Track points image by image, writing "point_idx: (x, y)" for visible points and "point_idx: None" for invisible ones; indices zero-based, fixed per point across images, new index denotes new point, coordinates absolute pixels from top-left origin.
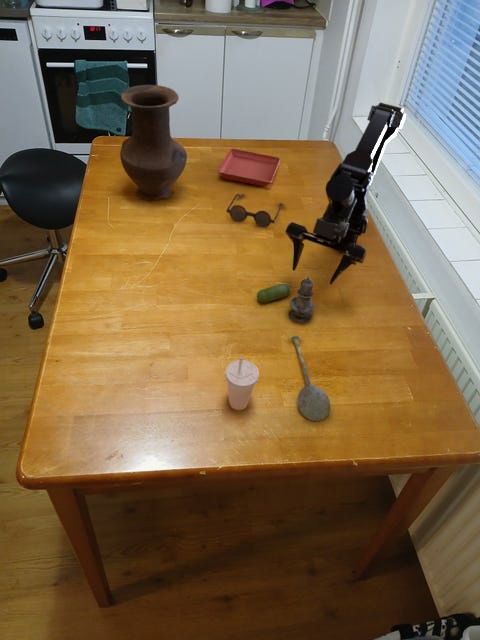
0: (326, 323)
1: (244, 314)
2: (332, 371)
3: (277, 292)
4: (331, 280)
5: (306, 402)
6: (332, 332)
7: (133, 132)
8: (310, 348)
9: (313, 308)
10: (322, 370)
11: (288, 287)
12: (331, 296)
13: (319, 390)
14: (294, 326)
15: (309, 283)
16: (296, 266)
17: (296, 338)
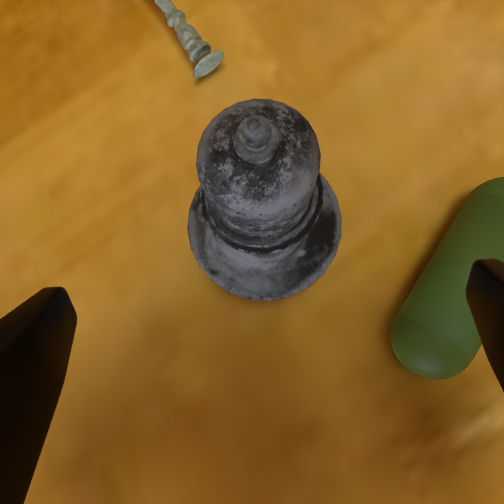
0: (125, 268)
1: (499, 85)
2: (4, 22)
3: (451, 259)
4: (35, 302)
5: None
6: (78, 227)
7: None
8: (131, 78)
9: (190, 230)
10: (42, 3)
11: (418, 339)
12: (179, 494)
13: None
14: None
15: (225, 125)
16: (485, 333)
17: (197, 47)
